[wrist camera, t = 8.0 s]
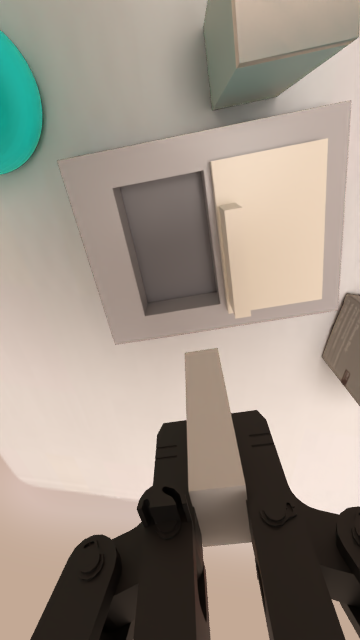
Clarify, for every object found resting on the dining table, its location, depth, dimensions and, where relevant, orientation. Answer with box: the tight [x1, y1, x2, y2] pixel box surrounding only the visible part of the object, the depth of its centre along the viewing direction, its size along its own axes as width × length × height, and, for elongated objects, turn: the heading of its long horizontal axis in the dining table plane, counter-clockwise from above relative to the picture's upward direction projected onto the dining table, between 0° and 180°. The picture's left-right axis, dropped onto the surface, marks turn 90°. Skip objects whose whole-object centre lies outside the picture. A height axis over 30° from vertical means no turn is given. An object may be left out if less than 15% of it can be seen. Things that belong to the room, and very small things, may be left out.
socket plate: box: [57, 100, 351, 345], centre depth 26 cm, size 16×21×4 cm
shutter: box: [210, 138, 328, 319], centre depth 23 cm, size 12×8×4 cm, turn 10°
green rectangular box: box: [203, 0, 360, 110], centre depth 17 cm, size 5×5×12 cm
